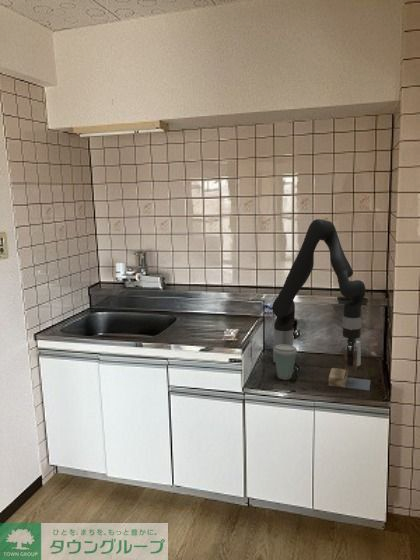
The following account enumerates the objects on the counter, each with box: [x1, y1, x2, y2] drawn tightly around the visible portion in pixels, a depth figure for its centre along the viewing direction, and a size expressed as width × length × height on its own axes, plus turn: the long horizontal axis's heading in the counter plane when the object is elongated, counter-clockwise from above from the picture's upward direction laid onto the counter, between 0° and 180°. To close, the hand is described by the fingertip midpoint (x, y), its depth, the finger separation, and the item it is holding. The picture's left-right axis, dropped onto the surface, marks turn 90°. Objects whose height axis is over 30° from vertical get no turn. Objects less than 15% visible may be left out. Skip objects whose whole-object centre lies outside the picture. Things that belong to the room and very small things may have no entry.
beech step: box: [328, 367, 349, 388], centre depth 206 cm, size 7×11×4 cm, turn 159°
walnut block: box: [343, 345, 358, 373], centre depth 202 cm, size 5×4×10 cm
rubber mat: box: [345, 376, 372, 392], centre depth 203 cm, size 10×11×1 cm
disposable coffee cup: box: [274, 344, 298, 381], centre depth 211 cm, size 11×11×15 cm
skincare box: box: [345, 340, 362, 367], centre depth 224 cm, size 6×4×12 cm
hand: (350, 363), depth 203 cm, fingers closed on walnut block, 4 cm apart
